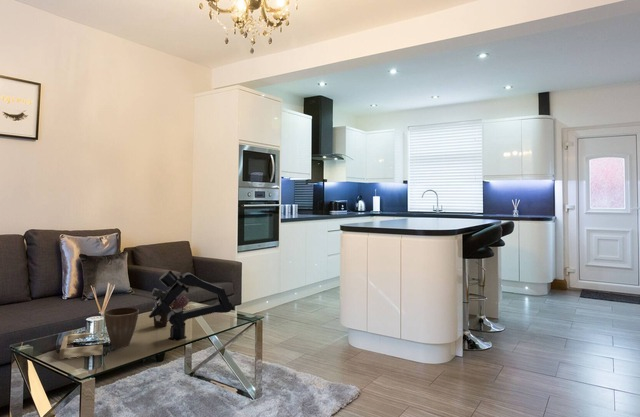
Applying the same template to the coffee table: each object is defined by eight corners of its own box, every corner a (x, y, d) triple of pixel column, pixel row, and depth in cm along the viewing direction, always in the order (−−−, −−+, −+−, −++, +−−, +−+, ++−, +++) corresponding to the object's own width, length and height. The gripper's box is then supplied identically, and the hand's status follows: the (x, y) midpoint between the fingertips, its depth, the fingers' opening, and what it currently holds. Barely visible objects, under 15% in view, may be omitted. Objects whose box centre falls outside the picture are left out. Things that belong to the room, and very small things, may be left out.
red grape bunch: (183, 306, 270) (184, 291, 270) (194, 308, 266) (195, 293, 266) (162, 312, 254) (163, 296, 254) (174, 314, 250) (175, 298, 250)
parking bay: (102, 339, 198) (102, 331, 198) (102, 354, 179) (102, 345, 179) (64, 343, 190) (64, 335, 191) (59, 359, 171) (60, 350, 171)
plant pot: (114, 352, 182) (116, 316, 182) (96, 345, 189) (97, 311, 190) (144, 343, 194) (145, 310, 195) (125, 337, 202) (126, 305, 202)
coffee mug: (148, 326, 222) (149, 308, 222) (161, 323, 230) (162, 305, 230) (163, 330, 217) (164, 311, 217) (175, 326, 224) (176, 308, 224)
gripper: (159, 279, 209) (135, 302, 203) (164, 285, 192) (138, 311, 187) (175, 293, 212) (152, 316, 207) (181, 301, 196) (156, 326, 191)
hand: (149, 317), depth 198 cm, fingers closed
